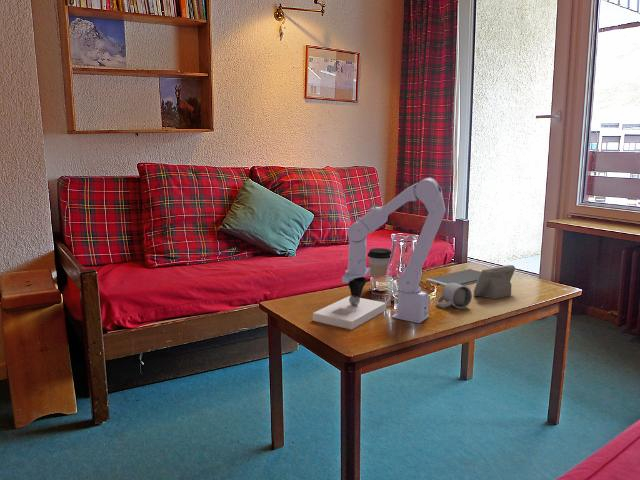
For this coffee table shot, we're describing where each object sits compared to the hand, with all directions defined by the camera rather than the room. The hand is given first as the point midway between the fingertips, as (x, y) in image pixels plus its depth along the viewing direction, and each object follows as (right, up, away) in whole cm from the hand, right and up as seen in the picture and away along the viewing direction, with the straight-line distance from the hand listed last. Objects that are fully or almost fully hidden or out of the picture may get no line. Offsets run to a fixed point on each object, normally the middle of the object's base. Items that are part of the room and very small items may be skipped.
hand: (355, 299), depth 176 cm
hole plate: (-2, -5, -3) cm, 6 cm away
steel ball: (0, 0, -1) cm, 1 cm away
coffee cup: (+11, +1, +26) cm, 28 cm away
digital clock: (+51, -1, +20) cm, 55 cm away
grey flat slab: (+45, +3, +41) cm, 61 cm away
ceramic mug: (+33, -3, +7) cm, 34 cm away
